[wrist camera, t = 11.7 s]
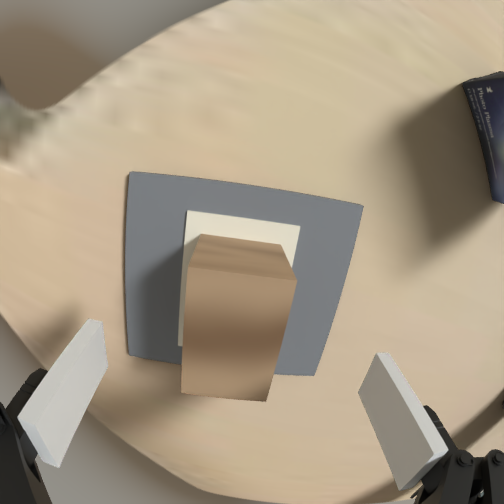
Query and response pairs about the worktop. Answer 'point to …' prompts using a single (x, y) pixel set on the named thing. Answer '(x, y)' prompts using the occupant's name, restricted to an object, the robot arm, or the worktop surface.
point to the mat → (241, 227)
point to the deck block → (234, 317)
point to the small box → (490, 125)
